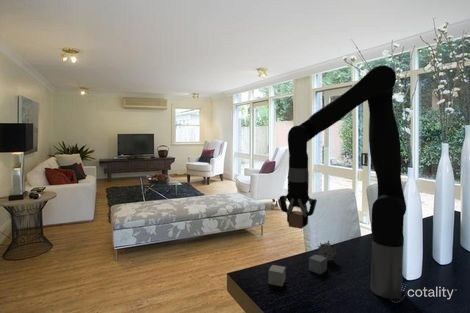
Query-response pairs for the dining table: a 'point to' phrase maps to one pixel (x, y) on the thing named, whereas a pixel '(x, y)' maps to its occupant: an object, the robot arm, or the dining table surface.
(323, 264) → the blue-grey cube
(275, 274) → the cream cube
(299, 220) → the terracotta cube
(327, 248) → the small potted plant
